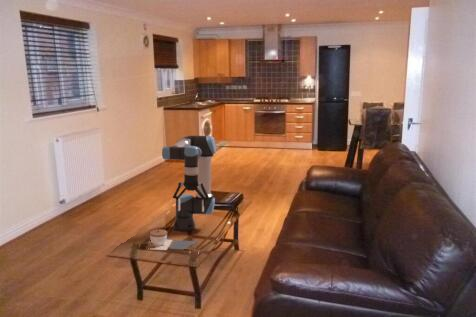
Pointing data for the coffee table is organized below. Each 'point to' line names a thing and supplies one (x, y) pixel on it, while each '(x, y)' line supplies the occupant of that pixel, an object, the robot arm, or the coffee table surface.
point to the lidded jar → (158, 237)
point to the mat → (181, 244)
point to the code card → (162, 246)
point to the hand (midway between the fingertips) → (191, 210)
